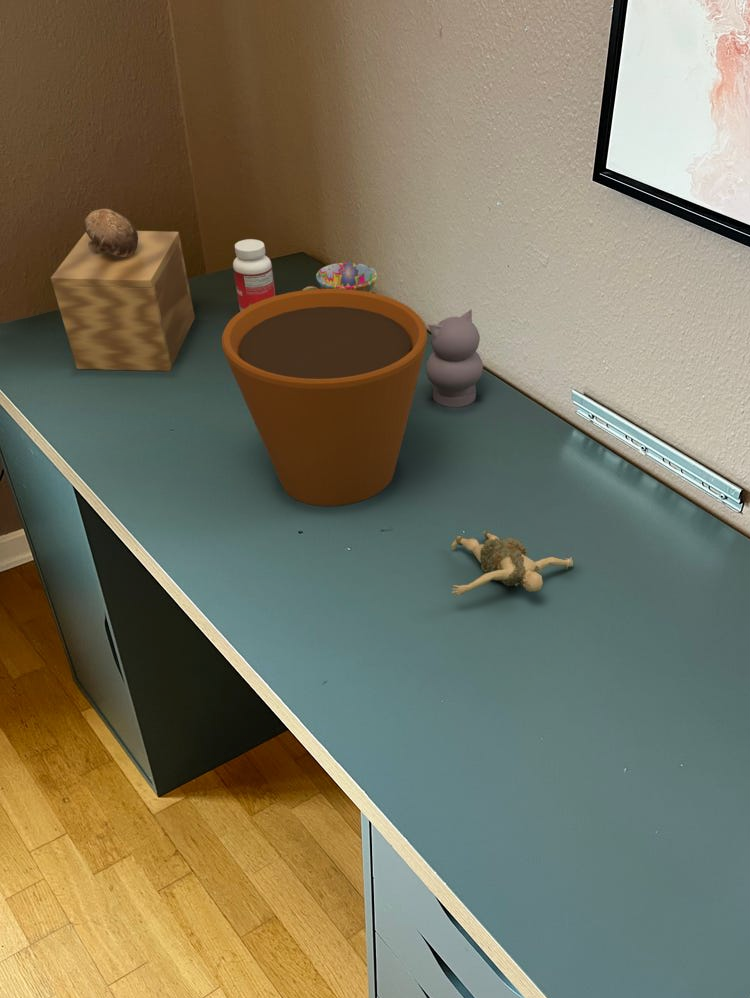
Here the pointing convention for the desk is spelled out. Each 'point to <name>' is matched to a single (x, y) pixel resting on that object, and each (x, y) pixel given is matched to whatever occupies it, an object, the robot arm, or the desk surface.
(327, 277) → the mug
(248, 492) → the desk surface
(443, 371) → the cat figurine
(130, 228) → the mushroom
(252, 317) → the flower pot
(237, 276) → the pill bottle
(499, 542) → the figurine
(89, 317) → the wood grain cube
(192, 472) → the desk surface
